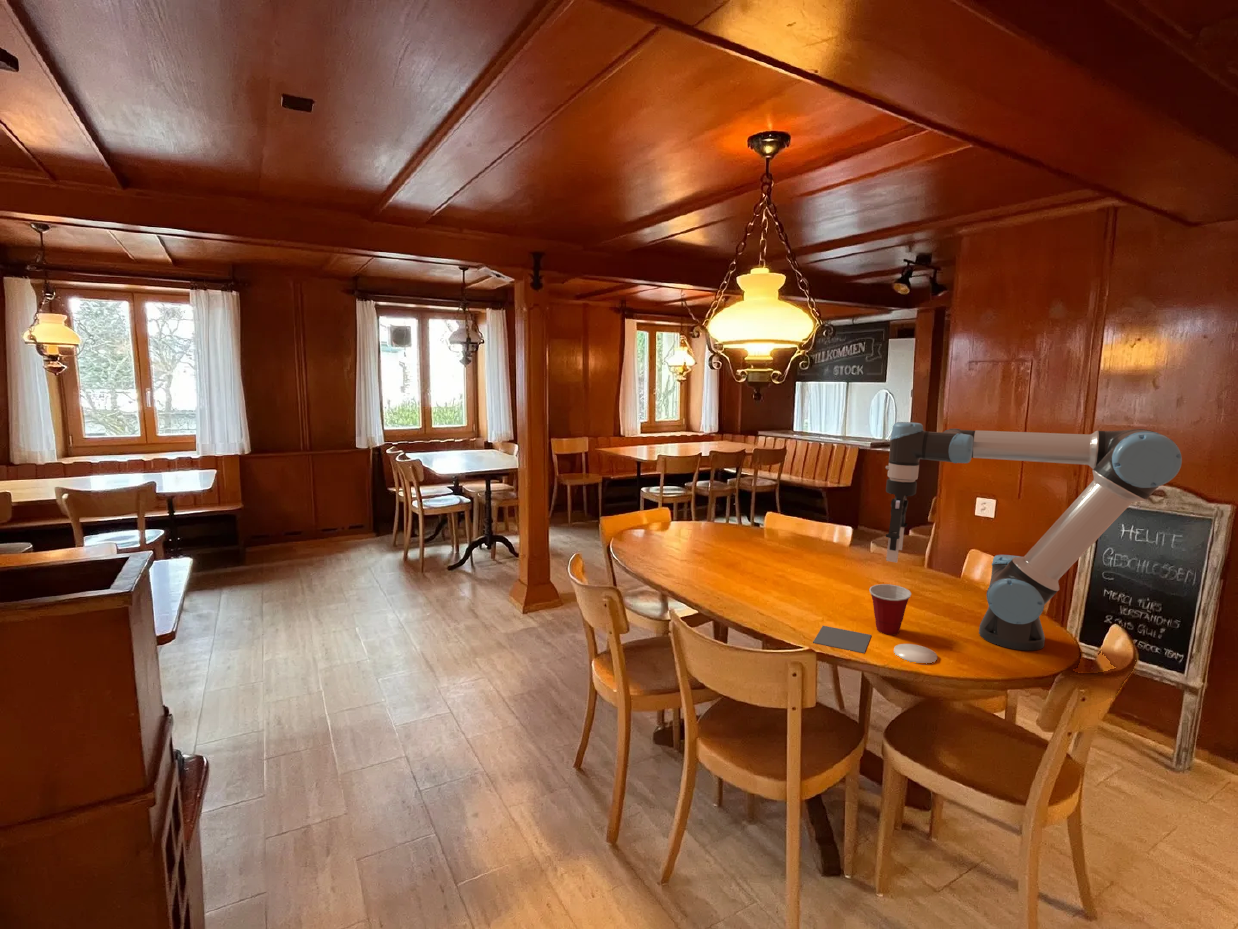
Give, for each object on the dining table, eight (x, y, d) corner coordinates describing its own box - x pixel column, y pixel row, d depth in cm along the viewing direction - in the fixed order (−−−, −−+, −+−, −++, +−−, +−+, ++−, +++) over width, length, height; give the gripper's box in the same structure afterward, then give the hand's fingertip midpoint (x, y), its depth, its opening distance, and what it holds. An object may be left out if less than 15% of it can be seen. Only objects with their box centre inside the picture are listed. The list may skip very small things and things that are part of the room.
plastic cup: (859, 630, 174) (862, 590, 172) (876, 620, 182) (878, 581, 180) (899, 642, 166) (902, 600, 165) (914, 631, 174) (917, 590, 172)
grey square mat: (871, 637, 171) (871, 635, 171) (864, 655, 160) (864, 652, 160) (822, 628, 177) (822, 625, 177) (812, 645, 166) (812, 642, 166)
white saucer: (937, 653, 161) (937, 649, 161) (935, 669, 152) (936, 664, 152) (895, 645, 166) (896, 641, 166) (891, 659, 157) (892, 655, 157)
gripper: (891, 471, 180) (884, 542, 183) (881, 484, 158) (873, 564, 162) (920, 474, 176) (912, 546, 180) (913, 488, 155) (905, 569, 158)
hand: (894, 555), depth 171 cm, fingers open, 13 cm apart
